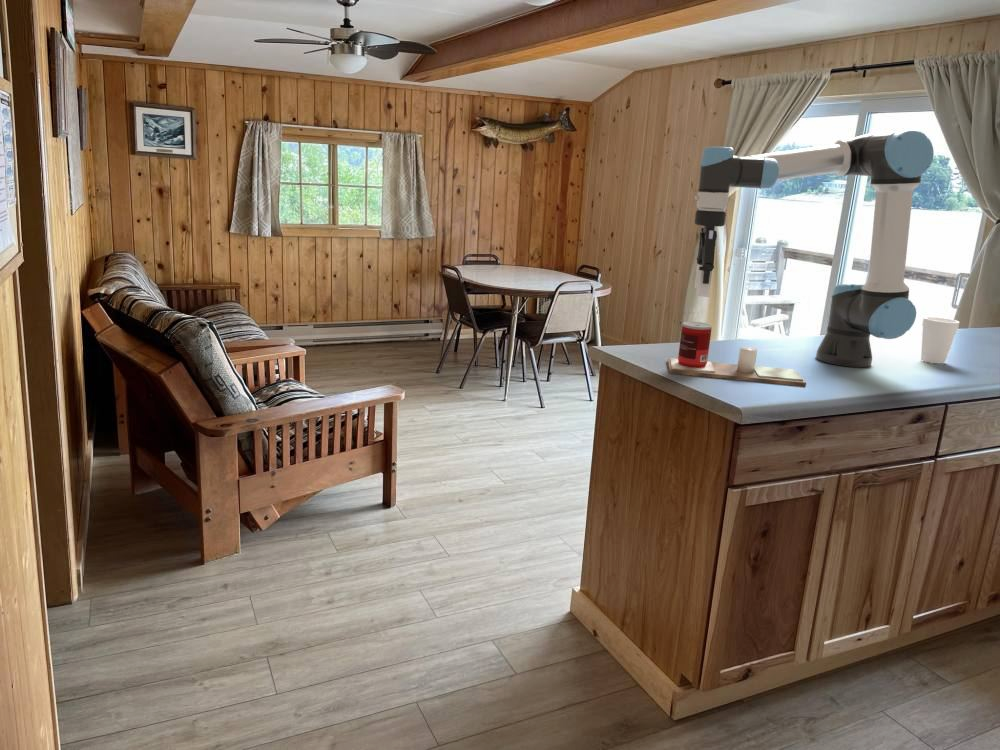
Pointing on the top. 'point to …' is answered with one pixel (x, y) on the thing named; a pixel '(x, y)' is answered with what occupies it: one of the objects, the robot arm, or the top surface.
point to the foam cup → (937, 338)
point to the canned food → (694, 344)
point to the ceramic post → (747, 360)
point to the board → (739, 373)
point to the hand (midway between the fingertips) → (701, 292)
